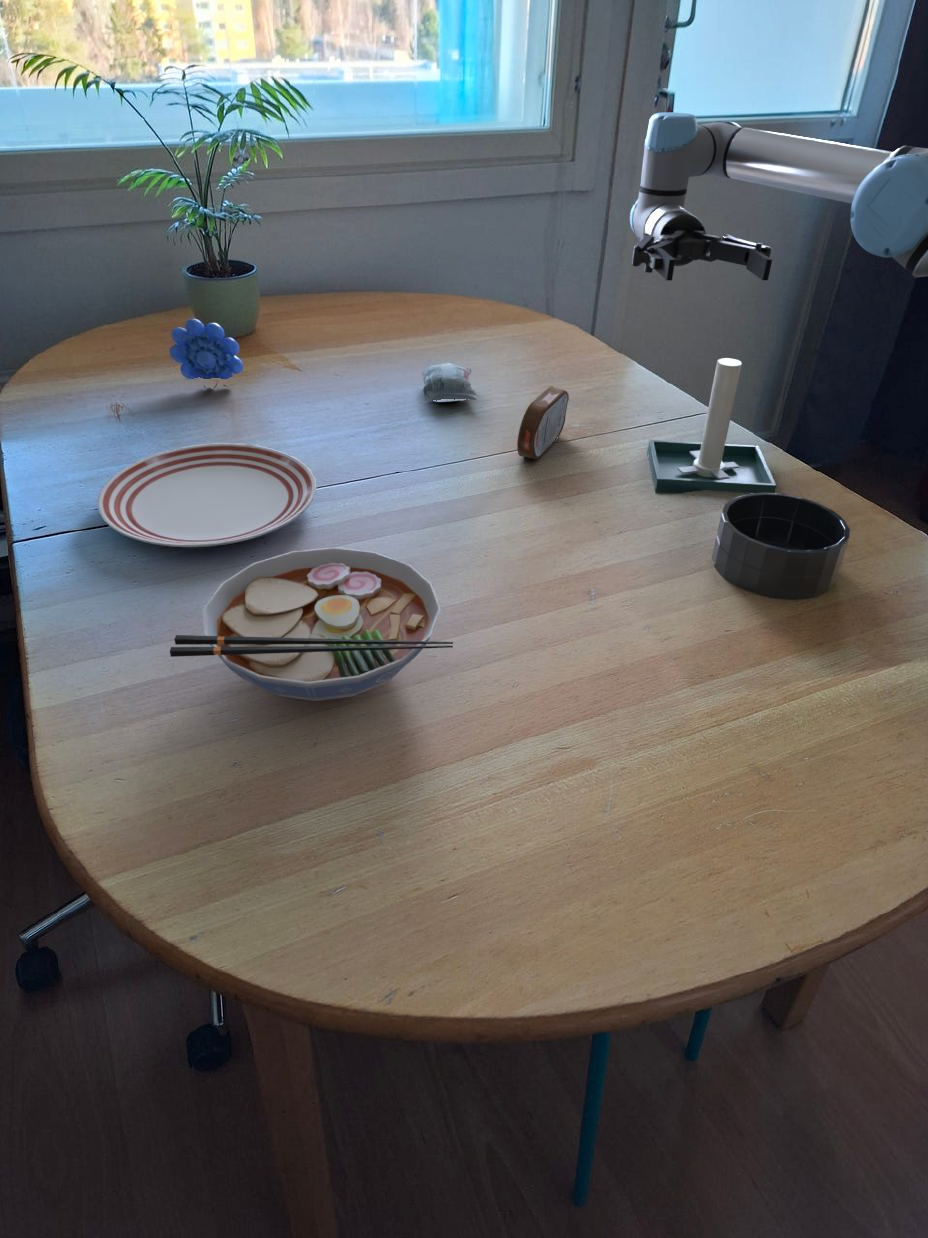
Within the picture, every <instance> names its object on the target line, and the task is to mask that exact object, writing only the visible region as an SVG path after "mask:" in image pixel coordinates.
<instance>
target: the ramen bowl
mask: <svg viewBox="0 0 928 1238" xmlns="http://www.w3.org/2000/svg"><path fill="white" fill-rule="evenodd" d="M441 610H442V606H441V604H440V601H439V598H438V596H437V592H436V591H435V588H434V584H433V583H432V582H431V581H430V580H429V579H428V578H426V577H425V576H424V575H423V574H422V573H420V572H419V571H418V570H417V569H416V568H414V567H413V566H412V565H411V564H410V563H408V562H405V561H402V560H399V559H396V558H393V557H391V556H388V555H386V554H382V553H380V552H376V551H372V550H371V551H370V550H363V549H354V548H346V547H337V546H333V547H331V546H330V547H322V548H312V549H303V550H292V551H287V552H285V553H282V554H279V555H275V556H273V557H272V556H271V557H270V558H266V559H263V560H259V561H256V562H253V563H251V564H249V565H248V566H246V567H244V568H243V569H241V570H240V571H238V572H237V573H234V575H232V576H230V577H229V578H227V579H226V580H224V581H222V582H221V583H220V585H218V587H217V589H215V591H214V593H213V594H212V595H211V597H210V598H209V599H208V600H207V602H206V603H205V605H203V607H202V635H190V634H189V635H187V634H176V635H175V637H174V643H175V644H174V645H176V646H170V648H169V654H170V655H169V656H170V657H171V658H174V657H176V658H177V657H206V656H218V657H219V659H220V660H221V661H222V662H223V663H224V664H225V666H227V668H228V669H229V670H230V671H232V673H234V674H236V675H237V676H239V678H241V679H242V680H243V679H244V680H245V681H247V682H249V683H252V684H253V685H256V686H257V687H260V688H262V689H264V690H266V691H268V692H271V693H273V694H274V695H277V696H279V697H282V698H290V699H298V700H303V701H304V700H306V701H311V702H312V701H313V702H319V701H321V702H322V701H328V700H335V699H343V698H351V697H355V696H357V695H360V694H362V693H364V692H367V691H369V690H372V689H374V688H378V687H380V686H382V685H384V684H386V683H388V682H389V681H390V680H392V679H393V678H394V677H395V676H396V675H397V674H398V673H399V672H401V670H403V669H404V668H405V667H406V666H407V665H408V664H409V663H411V662H412V660H414V659H415V658H416V657H417V656H418V655H419V654H420V653H421V652H422V651H423V649H447V648H448V649H451V648H454V646H453V645H454V642H453V641H435V640H434V641H433V640H432V641H431V640H430V639H431V637H432V636H433V632H434V629H435V627H436V624H437V621H438V619H439V616H440V613H441ZM177 645H178V646H177ZM179 645H181V646H179ZM185 645H192V646H185ZM195 645H197V646H195ZM198 645H199V646H198ZM200 645H201V646H200ZM202 645H210V646H202Z"/></svg>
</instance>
